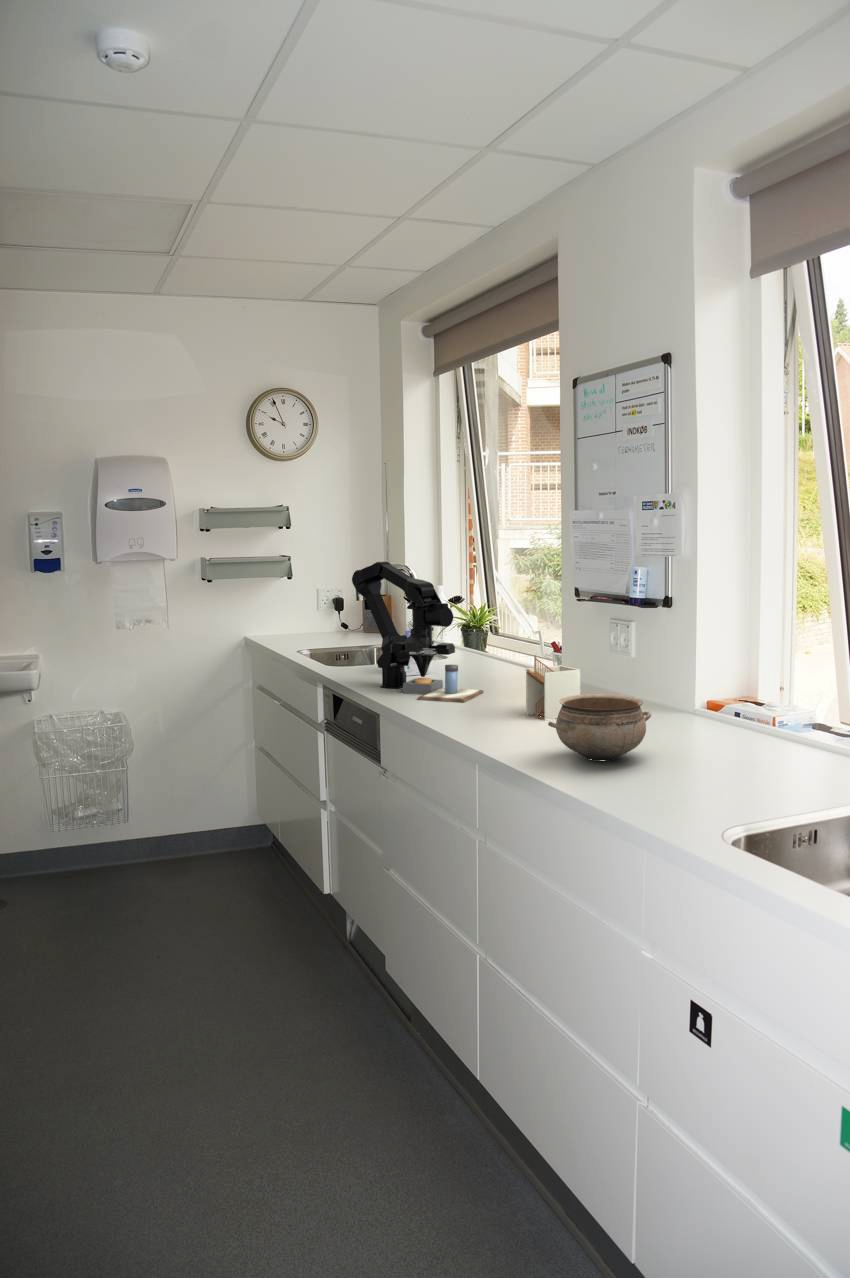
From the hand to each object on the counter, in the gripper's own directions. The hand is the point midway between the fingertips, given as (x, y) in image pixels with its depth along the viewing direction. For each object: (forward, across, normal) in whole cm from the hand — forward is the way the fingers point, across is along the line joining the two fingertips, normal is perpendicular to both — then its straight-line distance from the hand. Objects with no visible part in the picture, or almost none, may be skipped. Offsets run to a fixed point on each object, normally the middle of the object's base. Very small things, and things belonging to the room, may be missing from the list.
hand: (423, 676), depth 294 cm
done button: (+3, 0, 0) cm, 3 cm away
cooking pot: (+5, +68, -63) cm, 93 cm away
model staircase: (+5, +46, -22) cm, 51 cm away
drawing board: (+4, +11, -5) cm, 13 cm away
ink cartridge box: (+5, -16, +29) cm, 33 cm away
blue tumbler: (+3, +11, -5) cm, 12 cm away
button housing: (+4, 0, 0) cm, 5 cm away
